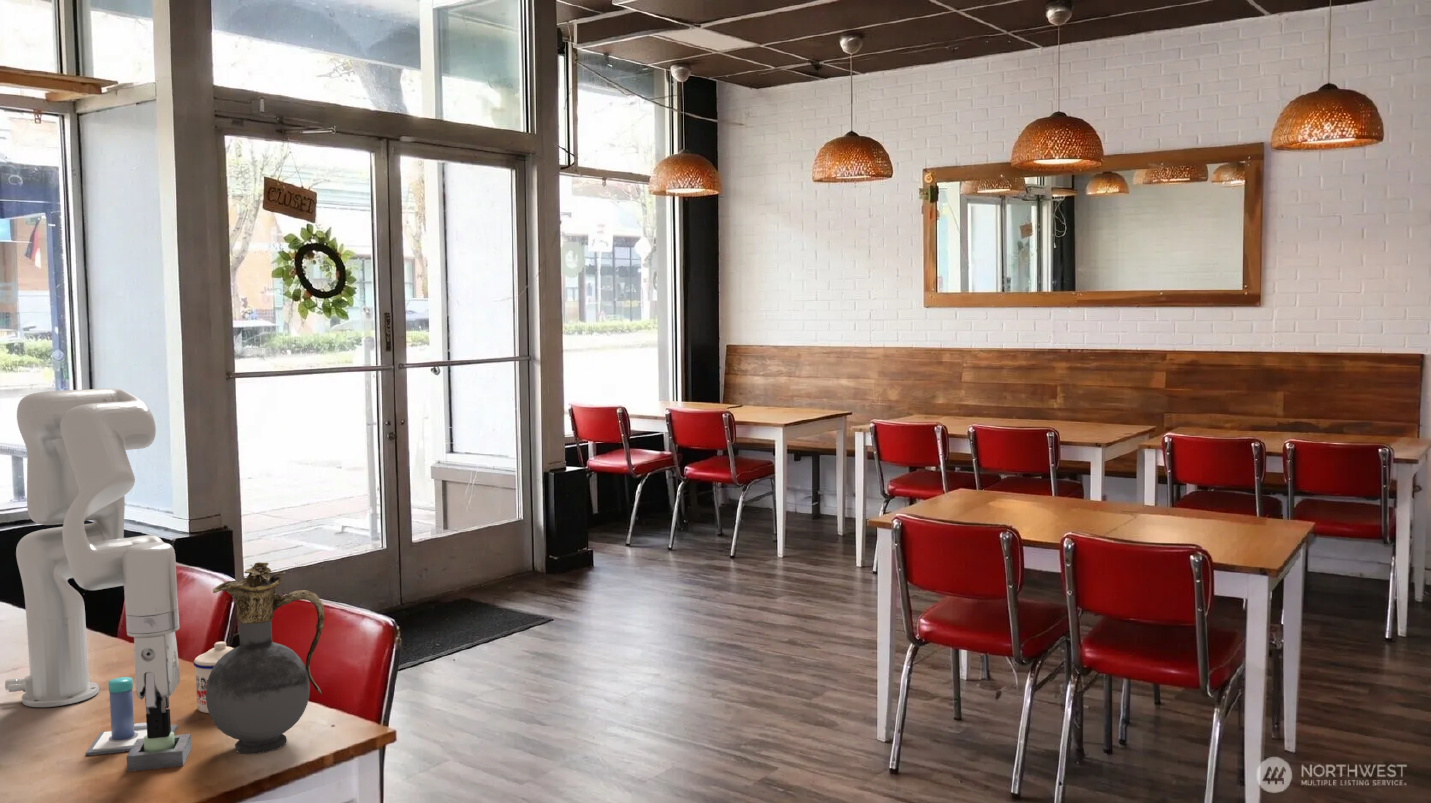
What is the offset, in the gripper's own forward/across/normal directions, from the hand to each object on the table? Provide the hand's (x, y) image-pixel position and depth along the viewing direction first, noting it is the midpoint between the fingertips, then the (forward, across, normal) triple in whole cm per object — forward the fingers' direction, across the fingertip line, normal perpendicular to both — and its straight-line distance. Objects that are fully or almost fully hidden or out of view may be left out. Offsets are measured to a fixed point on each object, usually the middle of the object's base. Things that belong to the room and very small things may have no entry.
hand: (159, 735), depth 190 cm
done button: (+3, 0, 0) cm, 3 cm away
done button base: (+4, 0, 0) cm, 4 cm away
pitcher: (+4, +2, -16) cm, 17 cm away
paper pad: (+4, +11, +6) cm, 13 cm away
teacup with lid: (+4, +24, -7) cm, 25 cm away
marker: (+3, +11, +8) cm, 14 cm away
